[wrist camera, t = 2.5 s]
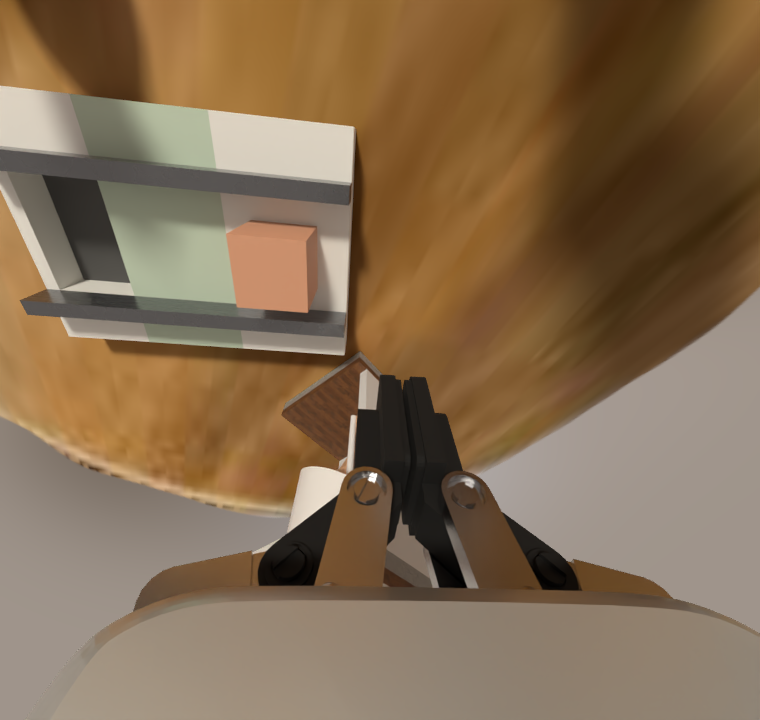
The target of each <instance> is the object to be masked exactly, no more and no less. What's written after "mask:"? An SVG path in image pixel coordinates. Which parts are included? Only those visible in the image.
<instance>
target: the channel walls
mask: <svg viewBox="0 0 760 720" xmlns="http://www.w3.org/2000/svg"><path fill="white" fill-rule="evenodd" d="M0 171H9V172H19V173H29V174H39V175H48V176H58V177H68V178H78V179H88V180H98V181H108V182H118V183H128V184H138V185H148V186H158V187H168V188H178V189H188V190H198V191H208V192H218V193H228V194H238V195H248V196H258V197H268V198H278V199H288V200H298V201H308V202H318V203H328V204H338V205H348V206H349V204H350V202H351V188H352V183H350V182H340V181H331V180H321V179H312V178H302V177H293V176H283V175H274V174H264V173H255V172H245V171H236V170H226V169H216V168H207V167H197V166H188V165H178V164H169V163H159V162H150V161H140V160H131V159H121V158H111V157H102V156H92V155H83V154H73V153H64V152H54V151H45V150H35V149H26V148H16V147H7V146H0ZM20 302H21V303H22V305H23V307H24V309H25V311H26V313H27V315H39V316H53V317H67V318H80V319H94V320H108V321H121V322H135V323H149V324H162V325H176V326H190V327H203V328H217V329H231V330H244V331H258V332H272V333H286V334H299V335H313V336H327V337H340V338H344V333H345V326H346V312H334V311H321V310H309V311H308V313H303V312H290V311H277V310H265V309H252V308H239V307H237V304H232V303H219V302H206V301H194V300H181V299H168V298H155V297H143V296H130V295H117V294H104V293H92V292H79V291H66V290H53V289H46V290H44V291H41V292H39V293H36V294H34V295H32V296H29V297H27V298H24V299H22V300H20Z"/></svg>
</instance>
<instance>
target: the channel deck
mask: <svg viewBox="0 0 760 720" xmlns="http://www.w3.org/2000/svg"><path fill="white" fill-rule="evenodd" d="M355 141H356V129H355V127H351V126H342V125H334V124H325V123H316V122H308V121H299V120H291V119H282V118H273V117H265V116H256V115H248V114H239V113H230V112H222V111H213V110H204V109H196V108H187V107H179V106H170V105H161V104H153V103H144V102H136V101H127V100H118V99H110V98H101V97H93V96H84V95H75V94H67V93H58V92H50V91H41V90H32V89H24V88H15V87H7V86H0V146H7V147H16V148H26V149H35V150H45V151H54V152H64V153H73V154H83V155H92V156H102V157H111V158H121V159H131V160H140V161H150V162H159V163H169V164H178V165H188V166H197V167H207V168H216V169H226V170H236V171H245V172H255V173H264V174H274V175H283V176H293V177H302V178H312V179H321V180H331V181H340V182H350V183H352V188H351V202H350V204H349V206H348V205H338V204H328V203H318V202H308V201H298V200H288V199H278V198H268V197H258V196H248V195H238V194H228V193H218V192H208V191H198V190H188V189H178V188H168V187H158V186H148V185H138V184H128V183H118V182H108V181H98V180H88V179H78V178H68V177H58V176H48V175H39V174H29V173H19V172H9V171H0V190H1V192H2V194H3V196H4V198H5V200H6V202H7V205H8V207H9V209H10V211H11V213H12V215H13V217H14V219H15V222H16V224H17V226H18V228H19V230H20V232H21V234H22V237H23V239H24V241H25V243H26V245H27V247H28V249H29V251H30V254H31V256H32V258H33V260H34V262H35V264H36V266H37V269H38V271H39V273H40V275H41V277H42V279H43V281H44V283H45V286H46V288H47V289H53V290H66V291H79V292H92V293H104V294H117V295H130V296H143V297H155V298H168V299H181V300H194V301H206V302H219V303H232V304H236V298H235V291H234V285H233V278H232V271H231V265H230V258H229V251H228V245H227V238H226V233H228V232H230V231H232V230H234V229H235V228H237V227H239V226H241V225H243V224H244V223H246V222H248V221H250V220H256V221H267V222H277V223H288V224H298V225H309V226H317V261H318V289H317V292H316V294H315V297H314V299H313V301H312V304H311V306H310V309H309V310H321V311H334V312H346V326H345V333H344V338H340V337H327V336H313V335H299V334H286V333H272V332H258V331H244V330H231V329H217V328H203V327H190V326H176V325H162V324H149V323H135V322H121V321H108V320H94V319H80V318H67V317H60V318H61V320H62V322H63V324H64V326H65V328H66V330H67V333H68V335H69V336H72V337H86V338H101V339H115V340H130V341H144V342H158V343H173V344H187V345H202V346H216V347H230V348H245V349H259V350H273V351H288V352H302V353H317V354H331V355H345V348H346V341H347V319H348V297H349V274H350V252H351V230H352V208H353V185H354V163H355Z"/></svg>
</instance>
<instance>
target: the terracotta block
mask: <svg viewBox="0 0 760 720" xmlns="http://www.w3.org/2000/svg"><path fill="white" fill-rule="evenodd" d="M226 238H227V245H228V251H229V258H230V265H231V271H232V278H233V285H234V291H235V298H236V304H237V307H239V308H252V309H265V310H277V311H290V312H303V313H308V311H309V309H310V306H311V304H312V301H313V299H314V297H315V294H316V292H317V289H318V261H317V226H309V225H298V224H288V223H277V222H267V221H256V220H250V221H248V222H246V223H244V224H243V225H241V226H239V227H237V228H235V229H234V230H232V231H230V232H228V233H226Z"/></svg>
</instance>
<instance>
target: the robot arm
mask: <svg viewBox="0 0 760 720" xmlns="http://www.w3.org/2000/svg"><path fill="white" fill-rule="evenodd" d="M400 513H401V515H402V523H403V525H408V529H409V536H415V539H416V540H417V541H418V542H419V543H420V544H421V545H423V553H424V558H425V561H426V565H427V569H428V572H429V576H430V579H431V583H432V587H433V588H424V587H383V578H384V568H385V559H386V550H387V546H388V545H389V544H390V542H391V541H392V540H393V539H394V538H395V534H396V529H397V525H398V523H399V518H400ZM25 720H760V633H758V632H756V631H755V630H753V629H751V628H750V627H748V626H746V625H744V624H742V623H740V622H738V621H736V620H734V619H732V618H729V617H727V616H724V615H722V614H720V613H717V612H715V611H712V610H710V609H707V608H704V607H701V606H698V605H695V604H692V603H689V602H685V601H681V600H677V599H673V598H672V597H671V596H670V595H669V594H668V593H667V592H666V591H665V590H664V589H663V588H662V587H660V586H659V585H657V584H656V583H655V582H653V581H651V580H648V579H646V578H644V577H640V576H636V575H633V574H629V573H625V572H621V571H618V570H614V569H610V568H606V567H602V566H598V565H594V564H591V563H587V562H583V561H579V560H575V559H573V560H572V561H571V562H568V561H566V560H565V559H564V558H563V557H562V556H561V555H560V554H559V553H557V552H556V551H555V550H553V549H552V548H551V547H549V546H548V545H546V544H545V543H544V542H542V541H541V540H539V539H538V538H537V537H536V536H534V535H533V534H532V533H530V532H529V531H527V530H526V529H525V528H523V527H522V526H520V525H519V524H518V523H516V522H515V521H514V520H512V519H511V518H509V517H508V516H507V515H505V514H504V513H503V512H501V510H500V508H499V506H498V504H497V502H496V500H495V498H494V496H493V494H492V493H491V491H490V489H489V487H488V486H487V485H486V483H485V482H484V481H483V480H482V479H480V478H479V477H478V476H476V475H474V474H472V473H469V472H466V471H463V469H462V466H461V463H460V459H459V456H458V452H457V449H456V446H455V442H454V439H453V435H452V432H451V429H450V425H449V422H448V418H447V416H446V414H441V413H434V409H433V405H432V401H431V397H430V393H429V389H428V385H427V381H426V378H425V377H410V379H409V380H404V385H403V391H402V387H401V380H396V379H395V376H394V375H380V379H379V387H378V396H377V405H376V410H371V409H358V412H357V426H356V441H355V458H354V470H352V471H350V472H349V473H348V474H347V475H346V476H345V477H344V480H343V482H342V484H341V488H340V492H339V494H338V495H337V496H335V497H334V498H333V499H332V500H330V501H329V502H328V503H326V504H325V505H324V506H322V507H321V508H320V509H319V510H317V511H316V512H315V513H313V514H312V515H311V516H309V517H308V518H307V519H306V520H304V521H303V522H302V523H300V524H299V525H298V526H296V527H295V528H294V529H293V530H291V531H290V532H289V533H287V534H286V535H285V536H284V537H282V538H281V539H280V540H278V541H277V542H276V543H274V544H273V545H272V546H271V547H270V548H269V549H268V550H267V551H265V552H260V553H255V554H253V553H252V551H247V552H242V553H238V554H233V555H228V556H223V557H218V558H213V559H208V560H204V561H199V562H194V563H189V564H184V565H179V566H174V567H172V568H169V569H166V570H163V571H162V572H160V573H159V574H157V575H156V576H155V577H153V578H152V579H151V580H150V581H149V582H148V583H147V584H146V586H145V587H144V588H143V589H142V590H141V592H140V595H139V597H138V599H137V601H136V604H135V607H134V610H133V612H132V613H130V614H128V615H126V616H124V617H122V618H120V619H118V620H117V621H115V622H113V623H111V624H110V625H109V626H107V627H105V628H104V629H102V630H101V631H99V632H98V633H97V634H95V635H94V636H93V637H92V638H90V639H89V640H88V641H87V642H86V643H85V644H84V645H83V646H82V647H81V648H80V649H79V650H78V651H77V652H76V653H75V654H74V655H73V656H72V657H71V659H70V660H69V661H68V662H67V663H66V665H65V666H64V667H63V668H62V669H61V671H60V672H59V673H58V674H57V676H56V677H55V678H54V680H53V681H52V682H51V684H50V685H49V687H48V688H47V689H46V690H45V692H44V693H43V694H42V696H41V697H40V699H39V700H38V702H37V703H36V705H35V706H34V707H33V709H32V710H31V712H30V713H29V715H28V716H27V718H26V719H25Z"/></svg>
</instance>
